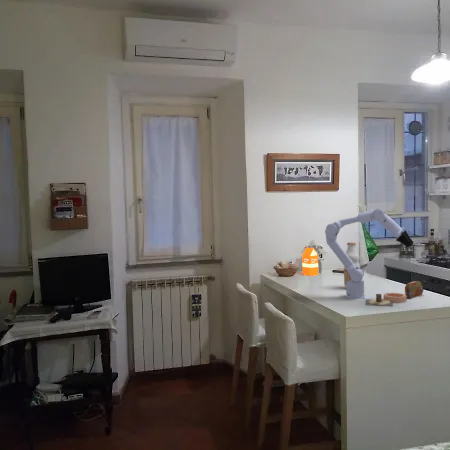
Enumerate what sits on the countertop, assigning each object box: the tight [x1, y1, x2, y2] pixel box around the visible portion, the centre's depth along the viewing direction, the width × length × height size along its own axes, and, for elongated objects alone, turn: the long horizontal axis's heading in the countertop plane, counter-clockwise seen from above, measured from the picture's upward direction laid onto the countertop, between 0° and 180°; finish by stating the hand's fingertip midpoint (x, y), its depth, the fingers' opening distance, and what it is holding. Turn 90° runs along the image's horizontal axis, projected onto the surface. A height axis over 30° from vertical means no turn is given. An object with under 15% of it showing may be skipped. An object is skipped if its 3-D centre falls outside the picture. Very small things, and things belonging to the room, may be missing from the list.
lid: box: [368, 293, 390, 305], centre depth 208 cm, size 11×11×4 cm
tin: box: [404, 280, 424, 299], centre depth 219 cm, size 15×3×8 cm, turn 126°
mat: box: [365, 298, 394, 308], centre depth 208 cm, size 13×13×1 cm
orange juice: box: [301, 247, 319, 277], centre depth 299 cm, size 8×9×20 cm
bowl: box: [383, 292, 408, 304], centre depth 213 cm, size 11×11×3 cm
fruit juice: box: [343, 242, 361, 290], centre depth 246 cm, size 9×9×28 cm
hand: (411, 244), depth 210 cm, fingers open, 7 cm apart
